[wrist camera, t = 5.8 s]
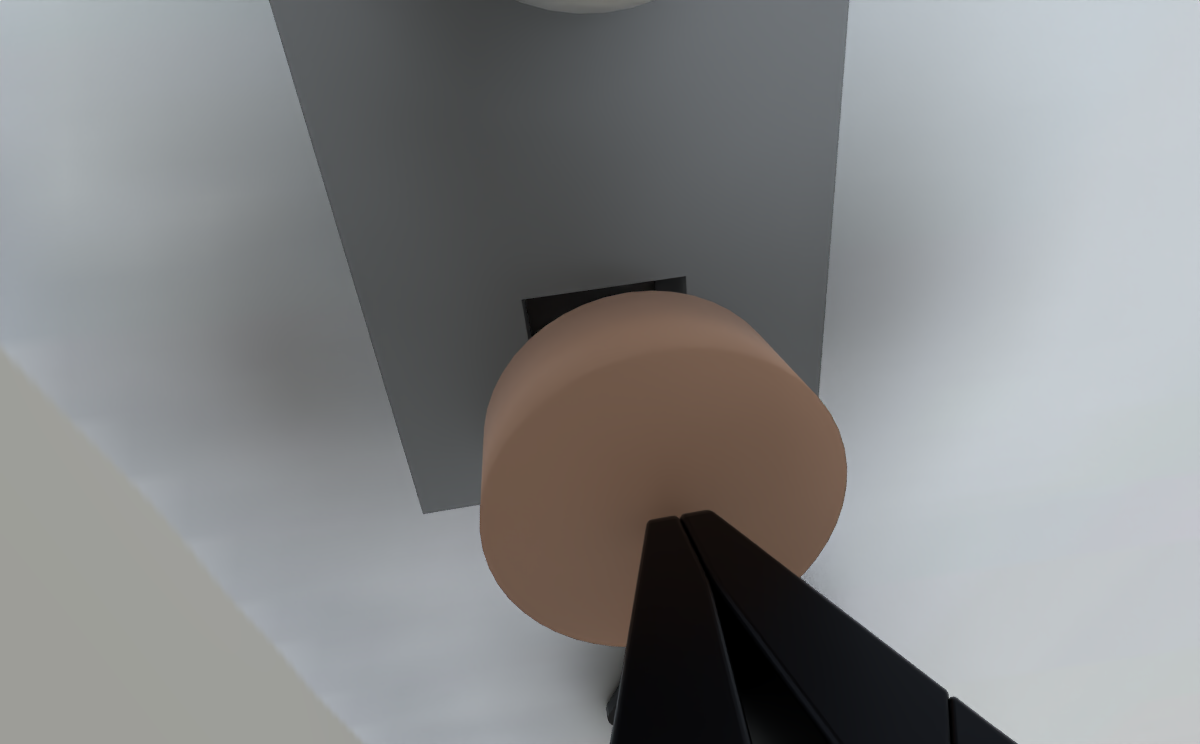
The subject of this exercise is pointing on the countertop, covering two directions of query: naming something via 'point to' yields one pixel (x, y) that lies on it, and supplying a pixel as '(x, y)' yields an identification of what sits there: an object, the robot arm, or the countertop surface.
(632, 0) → the knob middle
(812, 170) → the knob strip
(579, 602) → the knob
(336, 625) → the countertop surface
